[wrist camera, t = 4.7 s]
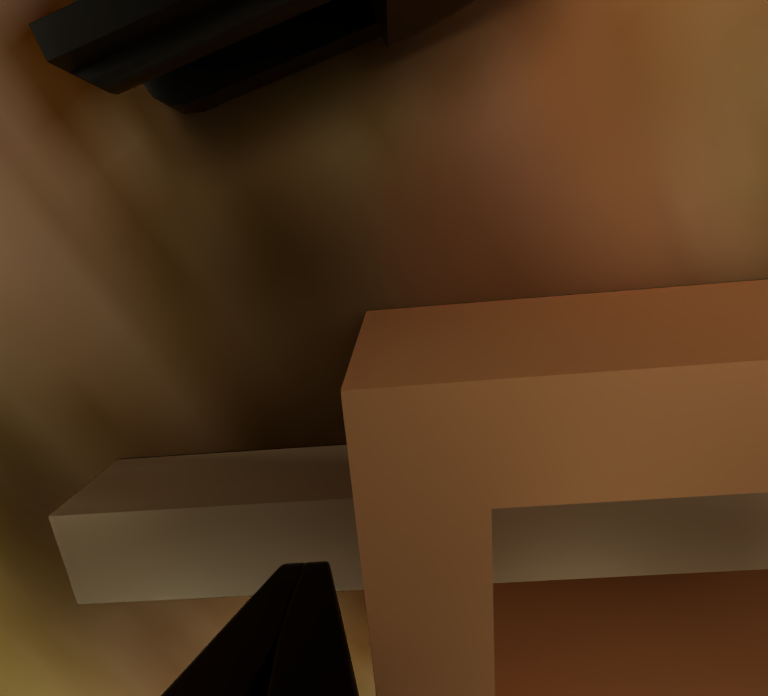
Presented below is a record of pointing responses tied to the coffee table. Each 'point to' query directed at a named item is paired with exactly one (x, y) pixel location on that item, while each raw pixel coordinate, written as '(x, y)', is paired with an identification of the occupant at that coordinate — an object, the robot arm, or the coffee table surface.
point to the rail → (355, 529)
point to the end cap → (218, 41)
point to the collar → (555, 487)
